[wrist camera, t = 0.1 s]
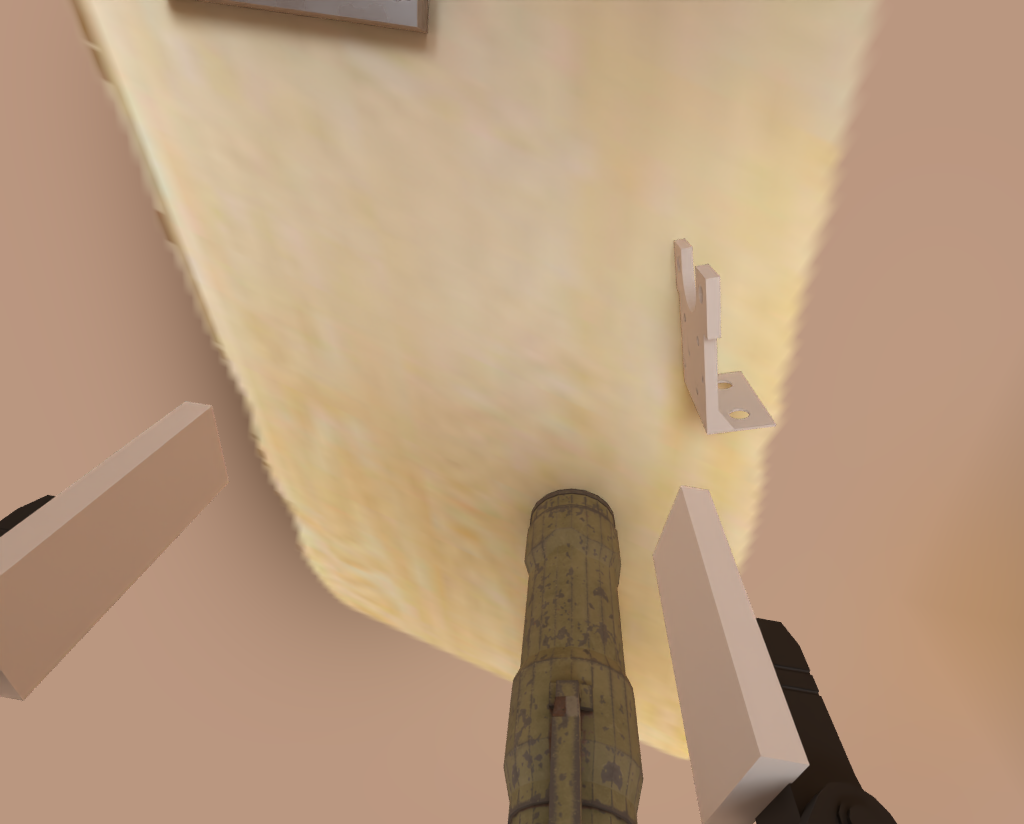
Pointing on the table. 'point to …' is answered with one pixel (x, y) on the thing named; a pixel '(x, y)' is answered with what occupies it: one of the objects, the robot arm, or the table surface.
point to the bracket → (710, 351)
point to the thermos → (572, 675)
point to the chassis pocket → (349, 11)
